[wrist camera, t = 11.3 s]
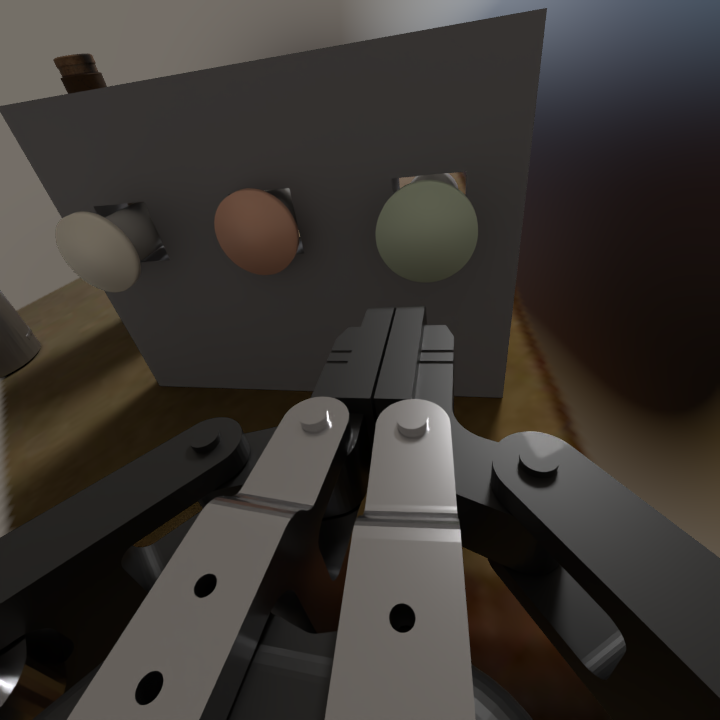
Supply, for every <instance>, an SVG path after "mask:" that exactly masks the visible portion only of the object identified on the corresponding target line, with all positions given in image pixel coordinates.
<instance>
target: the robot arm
mask: <svg viewBox="0 0 720 720" xmlns="http://www.w3.org/2000/svg"><path fill="white" fill-rule="evenodd" d="M40 347H41V344H40V342H39V341H38V339H37V338H36V337H35V335H34V334H33V333H32V330H31V329H30V328H29V327H28V326H27V325H26V323H25V322H24V321H23V319H22V318H21V317H20V315H19V314H18V313H17V311H16V310H15V309H14V307H13V306H12V305H11V304H10V302H9V301H8V300H7V298H6V297H5V296H4V294H3V293H2V292H1V290H0V378H1V377H4V376H6V375H8V374H9V373H11V372H13V371H15V370H17V369H18V368H20V367H21V366H23V365H24V364H26V363H27V362H28V361H30V360H31V359H32V358H33V357H34V356H35V355H36V354H37V353H38V351H39V350H40ZM367 488H368V489H367ZM197 501H198V502H199V503H200V505H201V506H202V508H203V510H202V511H200V512H199V513H197V514H196V515H195V516H193V517H192V518H190V519H189V520H187V521H186V522H184V523H183V524H182V525H180V526H179V527H177V528H176V529H174V530H173V531H171V532H170V533H168V534H167V535H166V536H164V537H163V538H161V539H160V540H158V541H157V542H155V543H154V544H152V545H150V546H147V547H141V548H140V547H135V546H133V544H135V543H136V542H138V541H139V540H141V539H142V538H143V537H145V536H146V535H148V534H149V533H151V532H152V531H154V530H155V529H157V528H158V527H160V526H161V525H163V524H164V523H166V522H167V521H169V520H170V519H172V518H173V517H175V516H176V515H178V514H179V513H181V512H182V511H184V510H185V509H186V508H188V507H189V506H191V505H192V504H194V503H195V502H197ZM462 547H464V548H467V549H469V550H471V551H473V552H475V553H478V554H480V555H482V556H484V557H486V558H488V561H489V563H490V565H491V567H492V568H493V570H494V571H495V572H496V574H497V575H498V576H499V577H500V579H501V580H502V581H503V582H504V584H505V585H506V586H507V587H508V589H509V590H510V591H511V592H512V594H513V595H514V596H515V597H516V599H517V600H518V601H519V602H520V604H521V605H522V606H523V608H524V609H525V610H526V611H527V613H528V614H529V615H530V616H531V618H532V619H533V620H534V621H535V623H536V624H537V625H538V626H539V628H540V629H541V630H542V631H543V633H544V634H545V635H546V636H547V638H548V639H549V640H550V642H551V643H552V644H553V645H554V647H555V648H556V649H557V650H558V652H559V653H560V654H561V655H562V657H563V658H564V659H565V660H566V662H567V663H568V664H569V665H570V667H571V668H572V669H573V670H574V672H575V673H576V674H577V676H578V677H579V678H580V679H581V681H582V682H583V683H584V684H585V686H586V687H587V688H588V689H589V691H590V692H591V693H592V694H593V696H594V697H595V698H596V699H597V701H598V702H599V703H600V704H601V706H602V707H603V708H604V709H605V711H606V712H607V713H608V715H609V716H610V717H611V718H612V720H720V558H719V557H717V556H716V555H715V554H714V553H712V552H711V551H709V550H708V549H707V548H706V547H704V546H703V545H702V544H700V543H699V542H698V541H696V540H695V539H694V538H692V537H691V536H690V535H688V534H687V533H686V532H684V531H683V530H682V529H680V528H679V527H678V526H676V525H675V524H674V523H673V522H671V521H670V520H668V519H667V518H666V517H665V516H663V515H662V514H660V513H659V512H658V511H657V510H655V509H654V508H653V507H651V506H650V505H648V504H647V503H646V502H644V501H643V500H642V499H641V498H639V497H638V496H637V495H635V494H634V493H633V492H631V491H630V490H629V489H627V488H626V487H625V486H623V485H622V484H620V482H618V481H617V480H616V479H614V478H613V477H612V476H610V475H609V474H608V473H606V472H605V471H604V470H602V469H601V468H600V467H598V466H597V465H596V464H594V463H593V462H592V461H590V460H589V459H588V458H586V457H585V456H584V455H582V454H581V453H580V452H578V451H577V450H576V449H574V448H573V447H572V446H570V445H569V444H568V443H566V442H564V441H563V440H561V439H559V438H557V437H554V436H552V435H549V434H545V433H540V432H519V433H515V434H512V435H509V436H507V437H505V438H504V439H502V440H501V441H500V442H499V443H498V442H495V441H491V440H488V439H485V438H482V437H479V436H477V435H475V434H473V433H471V432H469V431H468V430H466V429H465V428H464V427H462V426H461V425H460V424H459V422H458V421H457V420H456V418H455V416H454V336H453V334H452V333H451V332H450V330H449V329H448V328H447V326H446V325H427V314H426V307H425V306H420V307H397V309H396V308H395V307H392V308H368V309H367V311H366V314H365V316H364V319H363V322H362V325H361V327H348V328H347V329H346V330H345V331H344V332H343V333H342V334H341V335H340V336H338V337H337V339H336V341H335V343H334V346H333V348H332V350H331V353H330V355H329V357H328V359H327V363H326V364H325V366H324V368H323V371H322V373H321V375H320V377H319V380H318V382H317V384H316V387H315V389H314V391H313V393H312V396H311V398H310V399H307V400H304V401H302V402H300V403H298V404H296V405H295V406H293V407H292V408H291V409H290V410H289V411H288V412H287V413H286V414H285V416H284V417H283V419H282V421H281V422H280V424H279V426H277V427H273V428H269V429H264V430H260V431H255V432H250V433H245V434H244V433H243V431H242V428H241V426H240V425H239V423H238V422H237V421H235V420H233V419H231V418H226V417H217V418H211V419H208V420H205V421H202V422H200V423H198V424H196V425H194V426H192V427H191V428H189V429H187V430H186V431H184V432H182V433H180V434H179V435H177V436H175V437H173V438H172V439H170V440H168V441H167V442H165V443H163V444H161V445H160V446H158V447H156V448H154V449H153V450H151V451H149V452H148V453H146V454H144V455H142V456H141V457H139V458H137V459H135V460H134V461H132V462H130V463H129V464H127V465H125V466H123V467H122V468H120V469H118V470H116V471H115V472H113V473H111V474H110V475H108V476H106V477H104V478H103V479H101V480H99V481H97V482H96V483H94V484H92V485H91V486H89V487H87V488H85V489H84V490H82V491H80V492H78V493H77V494H75V495H73V496H72V497H70V498H68V499H66V500H65V501H63V502H61V503H59V504H58V505H56V506H54V507H53V508H51V509H49V510H47V511H46V512H44V513H42V514H41V515H39V516H37V517H35V518H34V519H32V520H30V521H28V522H27V523H25V524H23V525H22V526H20V527H18V528H16V529H15V530H13V531H11V532H9V533H8V534H6V535H4V536H3V537H1V538H0V720H533V719H532V718H531V717H530V716H529V714H528V713H527V712H526V710H525V709H524V708H523V707H522V706H521V705H520V704H519V703H518V702H517V701H516V700H515V699H514V698H513V697H512V696H511V695H510V694H509V693H508V692H507V691H506V690H505V689H504V688H503V687H501V686H500V685H499V684H498V683H497V682H496V681H494V680H493V679H492V678H491V677H490V676H488V675H487V674H485V673H484V672H482V671H481V670H479V669H478V668H476V667H475V666H473V665H471V656H470V644H469V631H468V619H467V606H466V594H465V581H464V569H463V557H462ZM344 584H345V586H344ZM343 589H344V593H343ZM342 595H343V600H342Z"/></svg>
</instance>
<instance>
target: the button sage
mask: <svg viewBox="0 0 720 720" xmlns="http://www.w3.org/2000/svg"><path fill="white" fill-rule="evenodd" d="M375 234H376V244H377V248H378V251H379V253H380V255H381V257H382V259H383V261H384V262H385V263H386V265H387V266H388V267H389V268H390V269H391V270H392V271H393V272H395V273H396V274H397V275H399V276H401V277H403V278H405V279H408V280H411V281H415V282H424V283H428V282H436V281H440V280H443V279H446V278H448V277H450V276H452V275H453V274H455V273H457V272H458V271H459V270H460V269H462V267H463V266H464V265H465V264H466V263H467V262H468V260H469V259H470V258H471V256H472V254H473V252H474V250H475V247H476V243H477V238H478V223H477V217H476V213H475V210H474V208H473V206H472V204H471V202H470V201H469V199H468V198H467V197H466V196H465V195H464V193H463V192H461V191H460V190H459V189H458V186H457V183H456V181H455V180H454V178H453V177H452V176H451V175H450V174H448V173H444V174H433V175H422V176H416V177H415V178H414V179H413V180H412V182H411V183H410V184H407V185H405V186H403V187H402V188H400V189H399V190H397V191H396V192H395V193H394V194H393V195H392V196H391V197H390V198H389V199H388V200H387V202H386V203H385V205H384V207H383V209H382V211H381V213H380V215H379V218H378V220H377V225H376V233H375Z"/></svg>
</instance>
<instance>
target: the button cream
mask: <svg viewBox="0 0 720 720" xmlns="http://www.w3.org/2000/svg"><path fill="white" fill-rule="evenodd" d="M55 238H56V243H57V246H58V249H59V251H60V253H61V255H62V257H63V258H64V260H65V261H66V263H67V264H68V265H69V266H70V268H71V269H72V270H73V271H74V272H75V273H76V274H77V275H78V276H79V277H80V278H82V279H83V280H84V281H86V282H87V283H89V284H90V285H92V286H94V287H96V288H98V289H101V290H104V291H107V292H122V291H125V290H127V289H128V288H129V287H131V286H132V285H133V284H135V283H136V282H137V280H138V279H139V277H140V273H141V264H140V261H141V260H143V259H144V258H146V257H147V256H149V255H150V254H151V253H153V252H154V251H156V250H157V249H159V248H160V247H162V246H163V243H162V241H161V239H160V236H159V234H158V232H157V230H156V227H155V225H154V223H153V221H152V218H151V216H150V214H149V212H148V210H147V207H146V205H145V203H144V202H136V203H133V204H131V205H129V206H127V207H125V208H123V209H121V210H119V211H117V212H115V213H113V214H111V215H109V216H107V217H105V218H104V217H102V216H100V215H98V214H95V213H91V212H86V211H80V212H75V213H73V214H70V215H68V216H66V217H64V218H62V219H61V220H60V221H59V222H58V224H57V226H56V231H55Z"/></svg>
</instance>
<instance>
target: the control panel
mask: <svg viewBox="0 0 720 720" xmlns="http://www.w3.org/2000/svg"><path fill="white" fill-rule="evenodd" d="M546 12H547V8H545V9H539V10H533V11H528V12H522V13H516V14H511V15H506V16H500V17H494V18H489V19H483V20H478V21H472V22H466V23H461V24H455V25H450V26H445V27H438V28H433V29H427V30H422V31H416V32H411V33H406V34H400V35H394V36H388V37H383V38H377V39H372V40H366V41H361V42H356V43H350V44H344V45H339V46H333V47H327V48H322V49H316V50H311V51H305V52H299V53H294V54H288V55H283V56H277V57H271V58H266V59H260V60H255V61H249V62H243V63H238V64H232V65H227V66H221V67H216V68H211V69H205V70H199V71H194V72H188V73H183V74H177V75H171V76H166V77H160V78H155V79H149V80H143V81H138V82H132V83H127V84H121V85H115V86H110V87H104V88H99V89H93V90H88V91H82V92H76V93H71V94H65V95H60V96H54V97H49V98H43V99H37V100H32V101H27V102H21V103H16V104H10V105H5V106H0V112H1V114H2V116H3V117H4V119H5V121H6V122H7V124H8V126H9V127H10V129H11V131H12V133H13V135H14V136H15V138H16V140H17V141H18V143H19V145H20V146H21V148H22V150H23V152H24V153H25V155H26V157H27V159H28V160H29V162H30V164H31V165H32V167H33V169H34V171H35V172H36V174H37V176H38V177H39V179H40V181H41V183H42V184H43V186H44V188H45V190H46V191H47V193H48V195H49V196H50V198H51V200H52V201H53V203H54V205H55V207H56V208H57V210H58V212H59V213H60V215H61V217H62V218H64V217H66V216H68V215H70V214H73V213H75V212H80V211H86V212H91V213H95V214H98V215H100V216H102V217H104V218H105V217H107V216H109V215H111V214H113V213H115V212H117V211H119V210H121V209H123V208H125V207H127V206H128V204H127V203H136V202H144V203H145V205H146V207H147V210H148V212H149V214H150V216H151V218H152V221H153V223H154V225H155V227H156V230H157V232H158V234H159V236H160V239H161V241H162V243H163V245H164V246H162V247H160V248H159V249H157V250H156V251H154V252H153V253H151V254H150V255H149V256H147V257H146V258H144V259H143V260H141V261H140V264H141V273H140V277H139V279H138V280H137V282H136V283H135V284H133V285H132V286H131V287H129V288H128V289H127V290H125V291H122V292H107V291H105V293H106V294H107V296H108V298H109V299H110V301H111V303H112V305H113V306H114V308H115V310H116V312H117V313H118V315H119V317H120V318H121V320H122V322H123V324H124V325H125V327H126V329H127V330H128V332H129V334H130V336H131V337H132V339H133V341H134V342H135V344H136V346H137V348H138V349H139V351H140V353H141V354H142V356H143V358H144V360H145V361H146V363H147V365H148V366H149V368H150V370H151V372H152V373H153V375H154V377H155V379H156V380H157V382H158V384H159V385H160V386H177V387H206V388H235V389H265V390H294V391H314V389H315V387H316V384H317V382H318V380H319V377H320V375H321V373H322V371H323V368H324V366H325V364H326V363H327V359H328V357H329V355H330V353H331V350H332V348H333V346H334V343H335V341H336V339H337V337H338V336H340V335H341V334H342V333H343V332H344V331H345V330H346V329H347V328H348V327H361V325H362V322H363V319H364V316H365V314H366V311H367V309H368V308H392V307H395V308H396V309H397V307H420V306H425V307H426V314H427V325H446V326H447V328H448V329H449V330H450V332H451V333H452V334H453V336H454V396H468V397H497V398H503V389H504V380H505V372H506V363H507V354H508V345H509V337H510V328H511V319H512V310H513V301H514V293H515V284H516V275H517V266H518V258H519V248H520V240H521V230H522V222H523V213H524V205H525V195H526V187H527V177H528V170H529V161H530V152H531V143H532V134H533V125H534V117H535V108H536V99H537V91H538V82H539V73H540V64H541V56H542V47H543V38H544V29H545V20H546ZM465 171H466V197H467V198H468V199H469V201H470V202H471V204H472V206H473V208H474V210H475V213H476V217H477V223H478V238H477V243H476V247H475V250H474V252H473V254H472V256H471V258H470V259H469V260H468V262H467V263H466V264H465V265H464V266H463V267H462V269H460V270H459V271H458V272H457V273H455V274H453V275H452V276H450V277H448V278H446V279H443V280H440V281H436V282H428V283H424V282H415V281H411V280H408V279H405V278H403V277H401V276H399V275H397V274H396V273H395V272H393V271H392V270H391V269H390V268H389V267H388V266H387V265H386V263H385V262H384V261H383V259H382V257H381V255H380V253H379V251H378V248H377V244H376V234H375V233H376V225H377V220H378V218H379V215H380V213H381V211H382V209H383V207H384V205H385V203H386V202H387V200H388V199H389V198H390V197H391V196H392V195H393V194H394V193H395V192H396V191H397V190H399V189H400V186H399V178H401V177H412V176H422V175H433V174H444V173H454V172H465ZM246 188H253V189H259V190H274V189H285V188H289V189H290V194H291V198H292V202H293V207H294V211H295V215H296V220H297V224H298V229H299V233H300V237H299V246H298V250H297V253H296V255H295V257H294V259H293V260H292V261H291V263H290V264H289V265H288V266H287V267H286V268H285V269H284V270H282V271H280V272H278V273H276V274H272V275H258V274H254V273H251V272H248V271H246V270H244V269H242V268H241V267H239V266H238V265H236V264H235V263H234V262H233V261H232V260H231V259H230V258H229V257H228V256H227V255H226V254H225V252H224V251H223V249H222V248H221V246H220V244H219V242H218V239H217V236H216V233H215V226H214V220H215V214H216V211H217V208H218V206H219V205H220V203H221V202H222V201H223V200H224V199H225V198H226V197H227V196H229V195H230V194H232V193H234V192H235V191H238V190H240V189H246Z"/></svg>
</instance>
